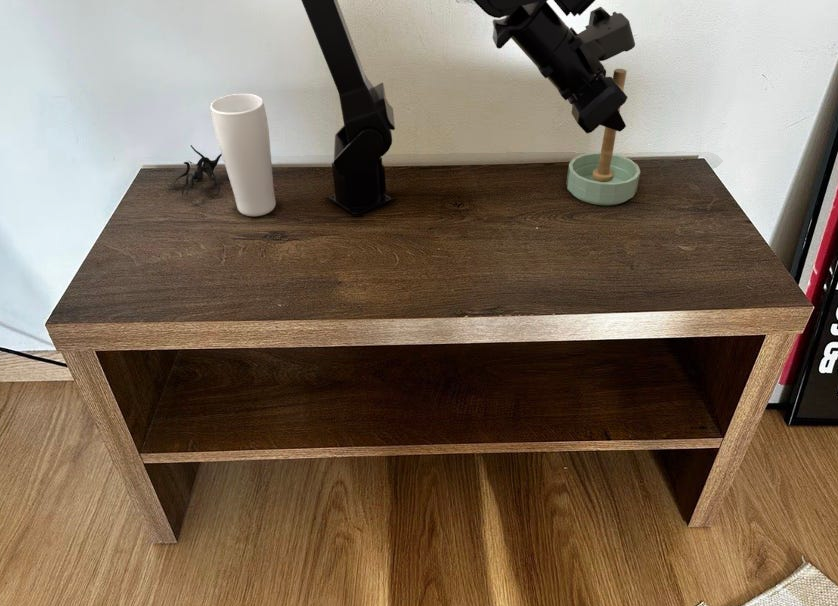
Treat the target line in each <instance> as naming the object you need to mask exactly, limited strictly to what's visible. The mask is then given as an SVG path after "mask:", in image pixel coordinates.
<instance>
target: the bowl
mask: <svg viewBox="0 0 838 606" xmlns="http://www.w3.org/2000/svg"><path fill="white" fill-rule="evenodd" d="M600 155H601V152H589V153H582V154H580V155H578V156H575V157H574V158H572V159H571V160H570V161H569V163H568V169H567V176H566V188H567V191H569V192H570V193H571V194H572V196H574V197H575V198H576V199H578V200H580V201H581V202H585V203H587V204H591V205H597V206H615V205H620V204H623V203H626V202H627V201H628V200H630V199H633V198H634V196H635V195H636V193H637V191H638V186H639V182H640V175H641V169H640V167H639V165H638V164H637V163H636V162H634V161H633V160H632V159H630V158H628V157H625V156H623V155H620V154H615V153H613V154H612V160H611V165H610V170H612V171H613V172H614V178H613V180H611V181H609V182H599V181H596V180H594V179H593V178H592V173H593V170H594V169H596V168H598V167H599V161H600Z"/></svg>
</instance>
